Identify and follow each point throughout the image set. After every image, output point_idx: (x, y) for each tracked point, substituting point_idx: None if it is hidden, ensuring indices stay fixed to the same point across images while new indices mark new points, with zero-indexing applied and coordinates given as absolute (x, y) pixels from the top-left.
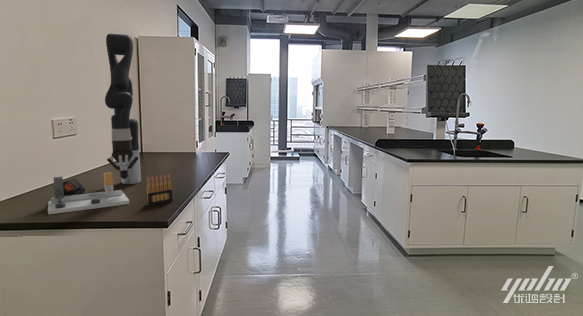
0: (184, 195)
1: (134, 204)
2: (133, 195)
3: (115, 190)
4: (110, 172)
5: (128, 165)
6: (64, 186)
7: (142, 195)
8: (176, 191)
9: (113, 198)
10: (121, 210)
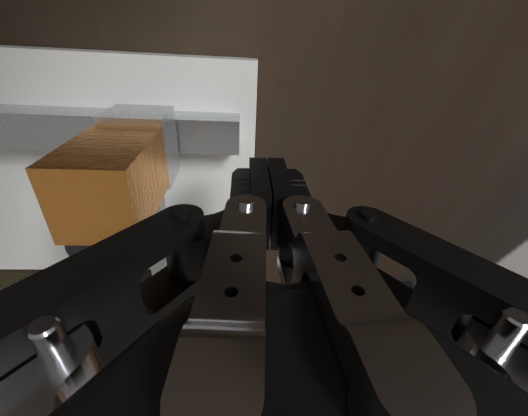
0: (507, 237)
1: (266, 272)
2: (316, 85)
3: (196, 120)
4: (115, 183)
5: (358, 234)
6: None
7: (360, 120)
8: None
9: (182, 199)
10: None
